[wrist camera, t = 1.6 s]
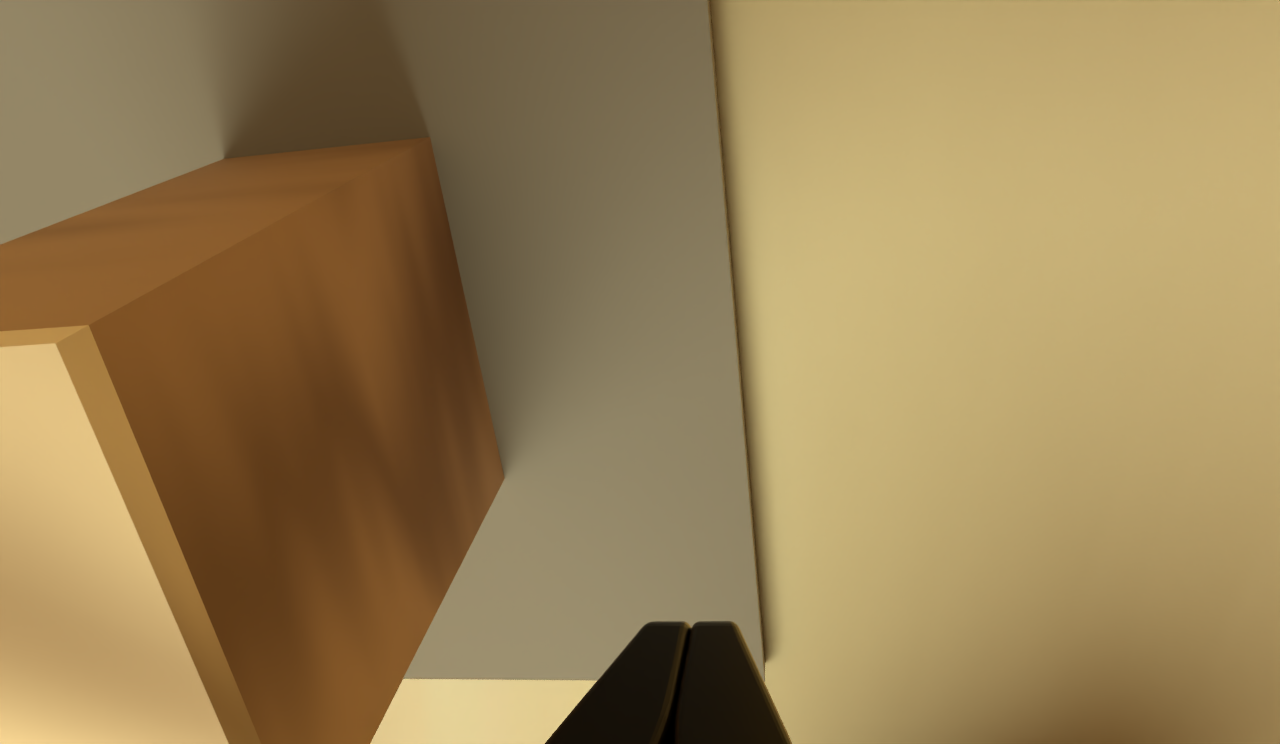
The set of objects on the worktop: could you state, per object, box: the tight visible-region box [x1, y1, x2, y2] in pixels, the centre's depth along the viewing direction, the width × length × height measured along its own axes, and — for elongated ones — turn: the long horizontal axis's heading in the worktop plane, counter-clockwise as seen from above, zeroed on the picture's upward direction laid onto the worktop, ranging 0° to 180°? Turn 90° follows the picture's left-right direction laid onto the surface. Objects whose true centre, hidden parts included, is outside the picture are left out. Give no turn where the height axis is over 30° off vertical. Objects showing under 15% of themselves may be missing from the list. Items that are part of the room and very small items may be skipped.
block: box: [0, 137, 505, 744], centre depth 13 cm, size 7×4×9 cm, turn 7°
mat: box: [0, 0, 765, 682], centre depth 18 cm, size 18×22×1 cm
